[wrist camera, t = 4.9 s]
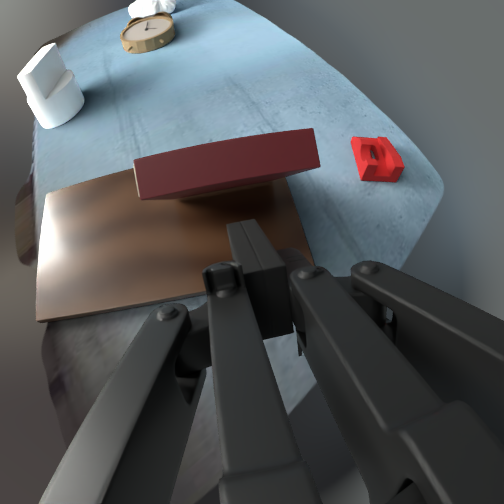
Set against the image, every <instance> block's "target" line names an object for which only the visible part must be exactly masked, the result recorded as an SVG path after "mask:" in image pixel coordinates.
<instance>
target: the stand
mask: <svg viewBox="0 0 504 504" xmlns="http://www.w3.org/2000/svg"><path fill="white" fill-rule="evenodd" d="M251 219H255V220H256V222H257V223H258V225H259V226H260V228H261V229H262V231H263V232H264V233H265V235H266V236H267V238H268V239H269V241H270V242H271V244H272V245H273V247H274V248H275V250H280V249H285V248H290V247H292V248H295V249H297V250H299V251H300V252H301V253H302V254H303V255H304V256H305V258H306V259H307V260H308V261H309V262H310V263H311V265H312V266H315V265H314V262H313V259H312V255H311V252H310V249H309V246H308V243H307V240H306V237H305V234H304V231H303V228H302V225H301V222H300V219H299V216H298V213H297V210H296V207H295V204H294V201H293V198H292V195H291V192H290V189H289V186H288V184H287V181H286V178H285V177H284V178H280V179H277V180H273V181H268V182H262V183H256V184H250V185H245V186H239V187H234V188H229V189H223V190H218V191H213V192H208V193H203V194H198V195H193V196H188V197H184V198H179V199H174V200H140V197H139V195H138V190H137V184H136V178H135V172H134V168H132V169H128V170H124V171H120V172H117V173H113V174H109V175H106V176H102V177H99V178H95V179H92V180H88V181H85V182H82V183H78V184H75V185H72V186H69V187H66V188H62V189H59V190H56V191H53V192H50V193H47V194H46V200H45V206H44V213H43V220H42V228H41V236H40V245H39V256H38V269H37V288H36V290H37V291H36V321H37V322H40V323H45V322H51V321H58V320H64V319H71V318H77V317H83V316H89V315H95V314H101V313H107V312H113V311H118V310H124V309H130V308H135V307H141V306H146V305H152V304H157V303H163V302H168V301H173V300H179V299H184V298H189V297H194V296H199V295H205V294H207V293H206V289H205V285H204V281H203V277H202V271H203V270H204V269H205V268H206V267H208V266H210V265H212V264H215V263H218V262H223V261H230V260H233V258H232V253H231V248H230V242H229V237H228V232H227V226H226V224H230V223H235V222H241V221H246V220H251Z"/></svg>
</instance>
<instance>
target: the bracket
mask: <svg viewBox="0 0 504 504" xmlns="http://www.w3.org/2000/svg"><path fill="white" fill-rule="evenodd" d="M351 145H352V149H353V152H354V156H355V160H356V163H357V167H358V171H359V175H360V179H361V180H362V181H382V182H397V180H398V178H399V176H400V175H401V173H402V171H403V169H404V164H403V162H402V159H401V156H400V155H399V154H398V152H397V151H396V149H395V148H394V147H393V145H392V144H391V143H390V141H389V140H388V139H387V137H378V138H377V139H376V138H365V137H352V139H351ZM370 150H371V151H373V153H374V156H375V159H373V158H372V155H371V152H370Z"/></svg>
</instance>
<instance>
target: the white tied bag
mask: <svg viewBox="0 0 504 504" xmlns="http://www.w3.org/2000/svg"><path fill="white" fill-rule="evenodd" d="M175 7H176V0H137V1H136V2H134V3H132V4H131V5H130V6H129V8H128V10H129V14H130V16H131V17H132V19H133V18H135V17H145V16H148V15H152V14H156V13H158V12H162V11H163V12H167V13H172V12H173V11H174V10H175Z"/></svg>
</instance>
